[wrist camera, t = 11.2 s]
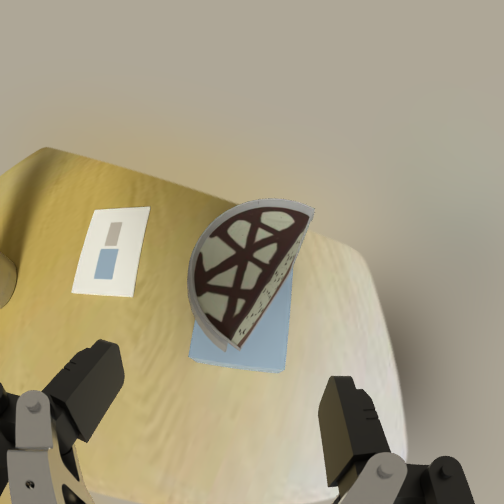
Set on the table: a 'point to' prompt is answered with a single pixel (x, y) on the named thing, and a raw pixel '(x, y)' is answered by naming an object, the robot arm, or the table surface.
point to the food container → (244, 266)
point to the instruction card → (111, 252)
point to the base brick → (252, 340)
